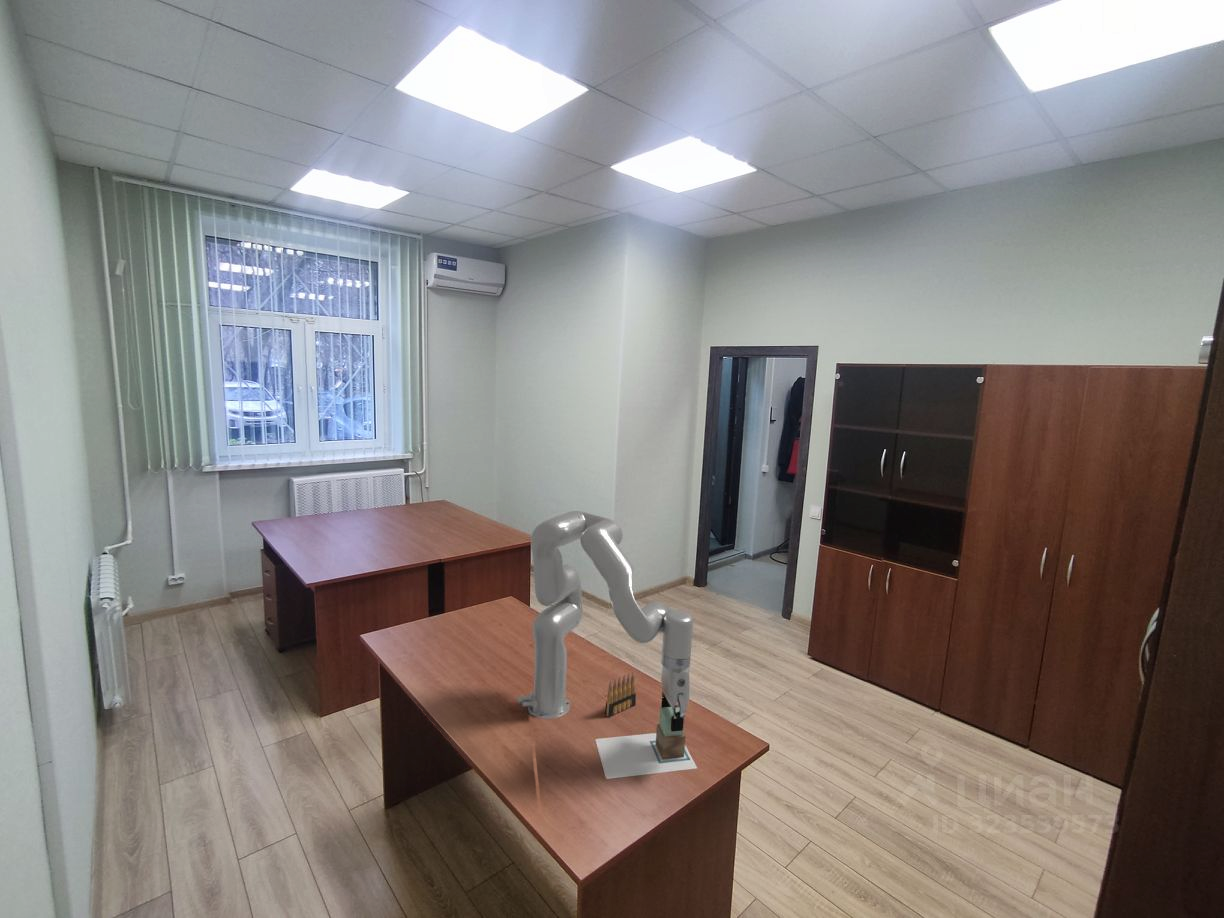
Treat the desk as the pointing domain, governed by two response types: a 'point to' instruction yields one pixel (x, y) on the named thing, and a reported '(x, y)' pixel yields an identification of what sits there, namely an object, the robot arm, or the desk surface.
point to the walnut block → (670, 745)
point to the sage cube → (668, 722)
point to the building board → (637, 757)
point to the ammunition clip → (621, 695)
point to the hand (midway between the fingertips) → (671, 720)
